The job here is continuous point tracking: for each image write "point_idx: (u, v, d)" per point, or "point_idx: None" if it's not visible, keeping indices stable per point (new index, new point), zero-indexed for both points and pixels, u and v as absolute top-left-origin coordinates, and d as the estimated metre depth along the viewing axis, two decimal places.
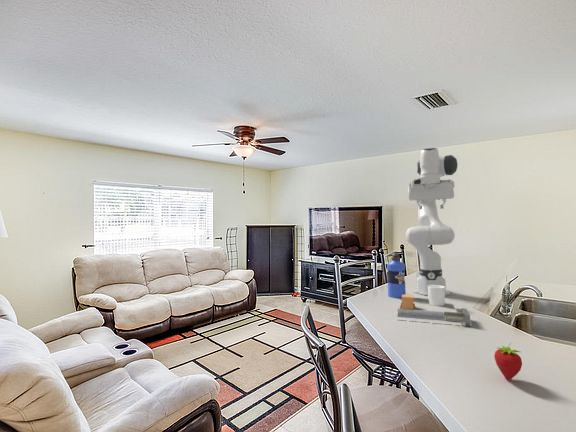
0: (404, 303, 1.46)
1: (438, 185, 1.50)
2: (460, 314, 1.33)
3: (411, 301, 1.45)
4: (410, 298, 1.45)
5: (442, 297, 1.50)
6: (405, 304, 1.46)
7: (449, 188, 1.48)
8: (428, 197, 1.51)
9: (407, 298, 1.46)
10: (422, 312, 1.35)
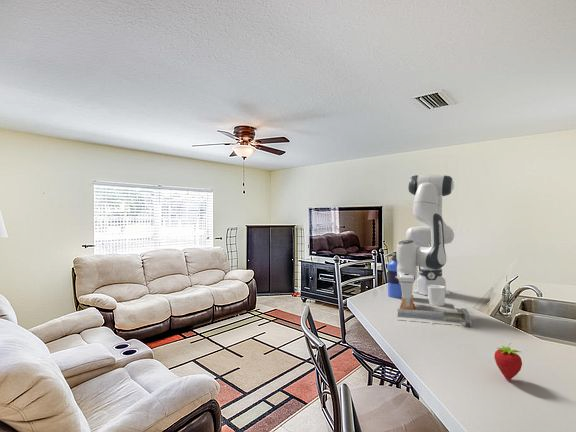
0: (404, 303, 1.46)
1: None
2: (460, 314, 1.33)
3: (411, 301, 1.45)
4: None
5: (442, 297, 1.50)
6: (405, 304, 1.46)
7: None
8: None
9: None
10: (422, 312, 1.35)
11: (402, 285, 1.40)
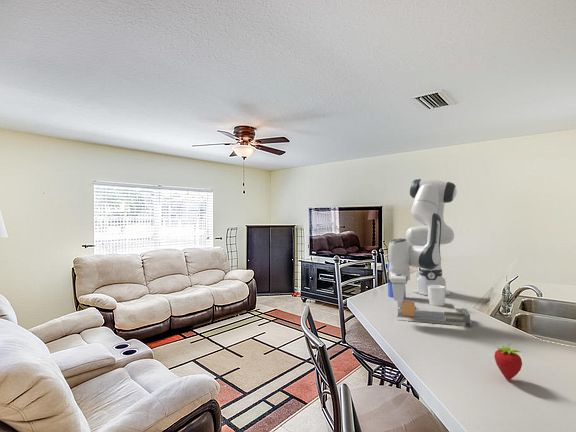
0: (404, 309, 1.36)
1: None
2: (460, 314, 1.33)
3: (412, 307, 1.35)
4: (411, 304, 1.35)
5: (442, 297, 1.50)
6: (406, 310, 1.36)
7: None
8: None
9: (408, 304, 1.35)
10: (422, 312, 1.35)
11: (393, 286, 1.31)
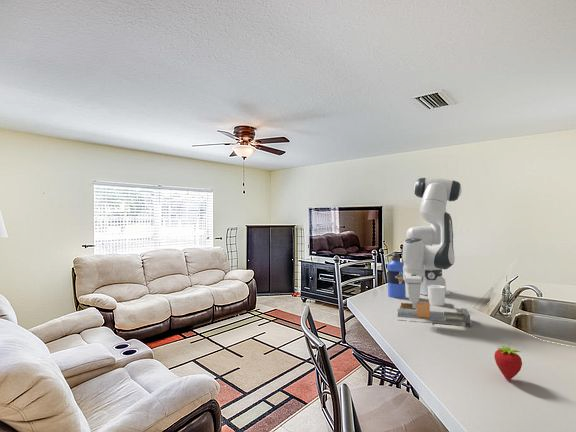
0: (419, 310, 1.33)
1: None
2: (460, 314, 1.33)
3: (427, 309, 1.32)
4: (426, 305, 1.32)
5: (442, 297, 1.50)
6: (421, 311, 1.33)
7: None
8: None
9: (423, 305, 1.33)
10: None
11: (409, 287, 1.29)
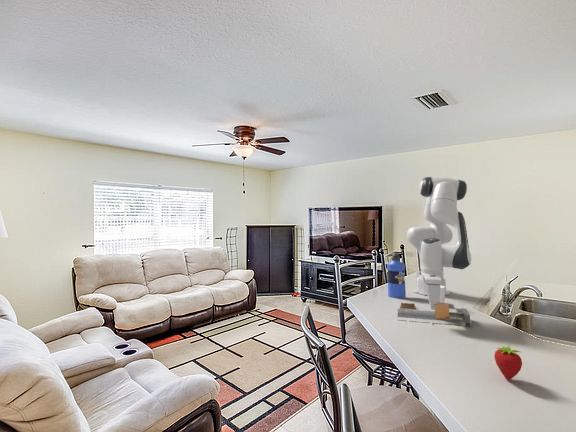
0: (438, 312, 1.30)
1: None
2: (460, 314, 1.33)
3: (446, 310, 1.29)
4: (445, 307, 1.29)
5: (442, 297, 1.50)
6: (440, 313, 1.30)
7: None
8: None
9: (442, 307, 1.30)
10: (422, 312, 1.35)
11: (428, 288, 1.26)
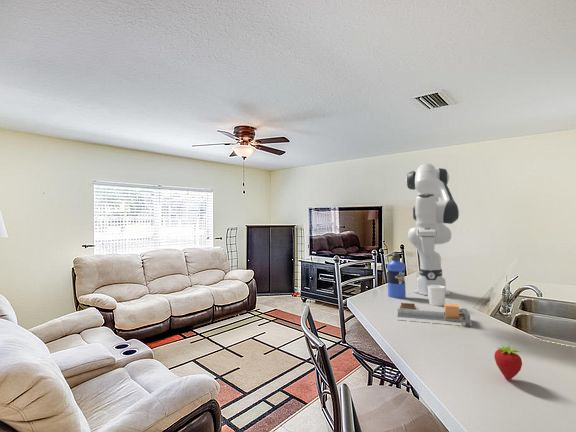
0: (448, 313, 1.29)
1: None
2: (460, 314, 1.33)
3: (456, 311, 1.28)
4: (455, 308, 1.28)
5: (442, 297, 1.50)
6: (450, 314, 1.29)
7: None
8: None
9: (452, 308, 1.29)
10: (422, 312, 1.35)
11: (423, 240, 1.27)
